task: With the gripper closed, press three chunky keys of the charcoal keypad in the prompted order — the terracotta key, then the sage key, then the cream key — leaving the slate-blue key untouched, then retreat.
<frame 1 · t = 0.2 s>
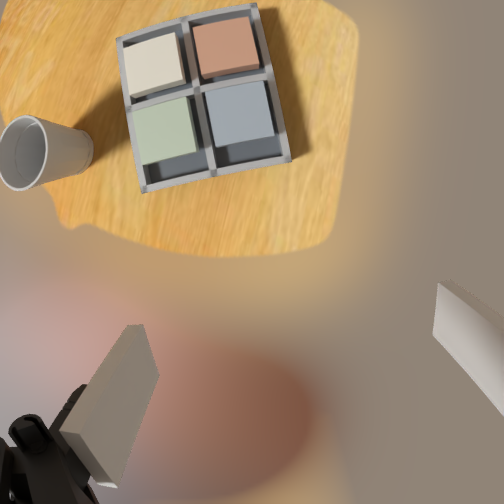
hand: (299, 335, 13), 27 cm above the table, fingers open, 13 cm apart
keypad base: (202, 97, 35), on the table
key sage: (165, 131, 31), point 5 cm above the table, slide at 0.0 cm
key cream: (154, 65, 29), point 5 cm above the table, slide at 0.0 cm
key terracotta: (225, 47, 29), point 5 cm above the table, slide at 0.0 cm
cup: (75, 152, 37), on the table
key slate: (239, 114, 31), point 5 cm above the table, slide at 0.0 cm
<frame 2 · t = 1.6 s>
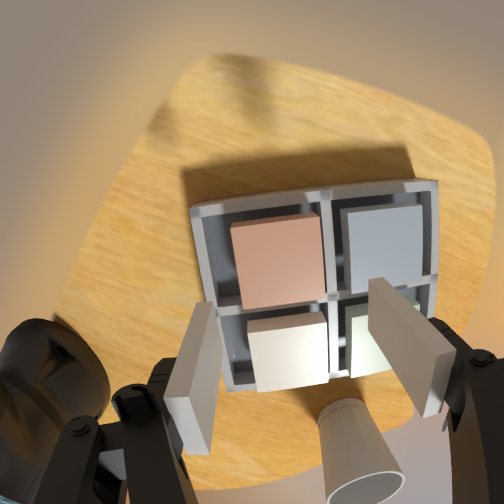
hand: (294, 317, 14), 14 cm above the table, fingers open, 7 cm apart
keypad base: (322, 279, 29), on the table
key sage: (381, 337, 25), point 5 cm above the table, slide at 0.0 cm
key cream: (289, 353, 25), point 5 cm above the table, slide at 0.0 cm
key terracotta: (279, 260, 23), point 5 cm above the table, slide at 0.0 cm
cup: (342, 415, 34), on the table
key slate: (383, 246, 23), point 5 cm above the table, slide at 0.0 cm
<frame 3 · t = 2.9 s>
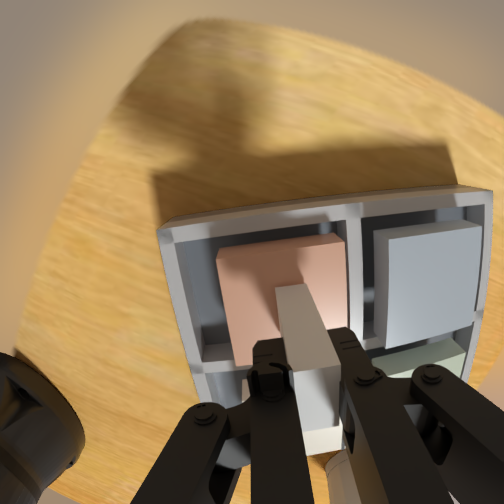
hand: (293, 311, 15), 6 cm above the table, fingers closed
keypad base: (339, 317, 22), on the table
key sage: (414, 391, 18), point 5 cm above the table, slide at 0.0 cm
key cream: (297, 418, 18), point 5 cm above the table, slide at 0.0 cm
key terracotta: (285, 301, 16), point 5 cm above the table, slide at 0.7 cm, touching gripper
cup: (354, 461, 27), on the table
key slate: (428, 281, 16), point 5 cm above the table, slide at 0.0 cm
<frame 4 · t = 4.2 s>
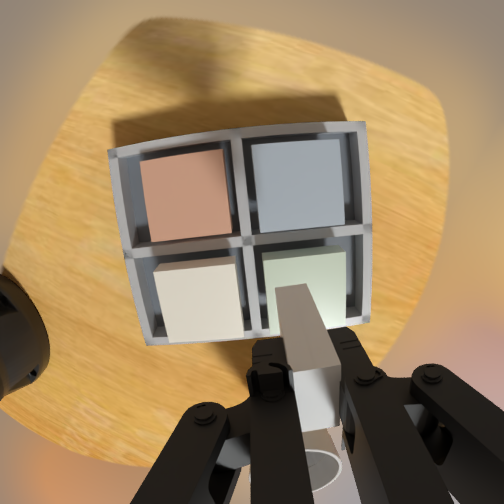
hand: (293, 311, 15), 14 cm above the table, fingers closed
keypad base: (246, 230, 28), on the table
key sage: (304, 289, 24), point 5 cm above the table, slide at 0.0 cm
key cream: (201, 300, 24), point 5 cm above the table, slide at 0.0 cm
key terracotta: (187, 195, 23), point 4 cm above the table, slide at 1.0 cm
cup: (282, 390, 34), on the table
key slate: (297, 184, 22), point 5 cm above the table, slide at 0.0 cm
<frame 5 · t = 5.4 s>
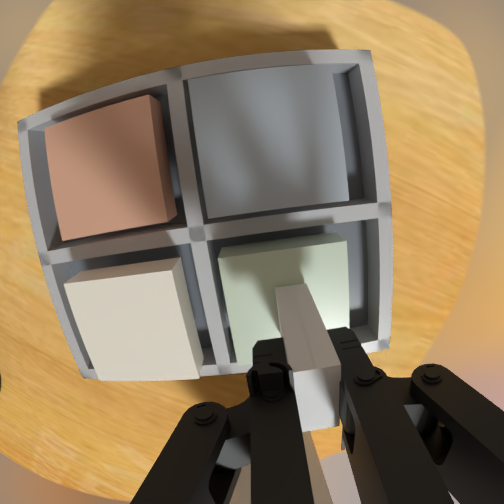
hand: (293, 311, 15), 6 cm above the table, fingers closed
keypad base: (207, 219, 20), on the table
key sage: (287, 300, 16), point 4 cm above the table, slide at 0.9 cm, touching gripper
key cream: (135, 324, 16), point 5 cm above the table, slide at 0.0 cm
key terracotta: (107, 169, 14), point 4 cm above the table, slide at 1.0 cm
cup: (272, 429, 25), on the table
key slate: (268, 138, 13), point 5 cm above the table, slide at 0.0 cm
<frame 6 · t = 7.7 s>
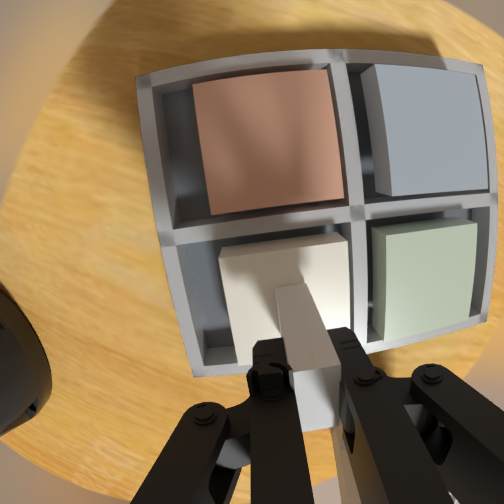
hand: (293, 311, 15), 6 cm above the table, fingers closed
keypad base: (336, 202, 19), on the table
key sage: (425, 276, 16), point 4 cm above the table, slide at 1.0 cm
key cream: (288, 300, 16), point 4 cm above the table, slide at 0.9 cm, touching gripper
key terracotta: (268, 140, 14), point 4 cm above the table, slide at 1.0 cm
cup: (362, 414, 24), on the table
key slate: (429, 129, 13), point 5 cm above the table, slide at 0.0 cm
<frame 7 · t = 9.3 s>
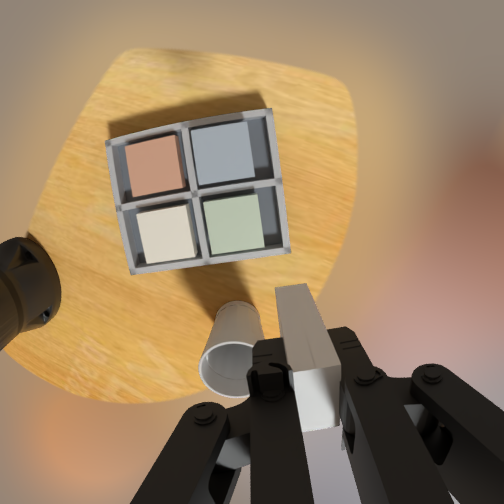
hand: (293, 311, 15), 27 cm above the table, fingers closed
keypad base: (199, 190, 40), on the table
key sage: (234, 223, 37), point 4 cm above the table, slide at 1.0 cm
key cream: (167, 233, 37), point 4 cm above the table, slide at 1.0 cm
key terracotta: (155, 166, 35), point 4 cm above the table, slide at 1.0 cm
cup: (237, 320, 45), on the table
key slate: (223, 153, 33), point 5 cm above the table, slide at 0.0 cm
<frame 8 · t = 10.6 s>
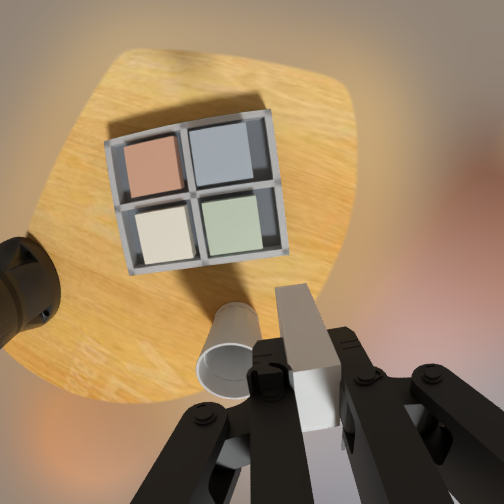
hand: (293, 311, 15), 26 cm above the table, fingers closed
keypad base: (198, 191, 40), on the table
key sage: (233, 224, 36), point 4 cm above the table, slide at 1.0 cm
key cream: (165, 234, 37), point 4 cm above the table, slide at 1.0 cm
key terracotta: (154, 167, 35), point 4 cm above the table, slide at 1.0 cm
cup: (236, 321, 45), on the table
key slate: (221, 154, 33), point 5 cm above the table, slide at 0.0 cm
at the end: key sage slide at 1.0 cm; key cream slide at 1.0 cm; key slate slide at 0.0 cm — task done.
